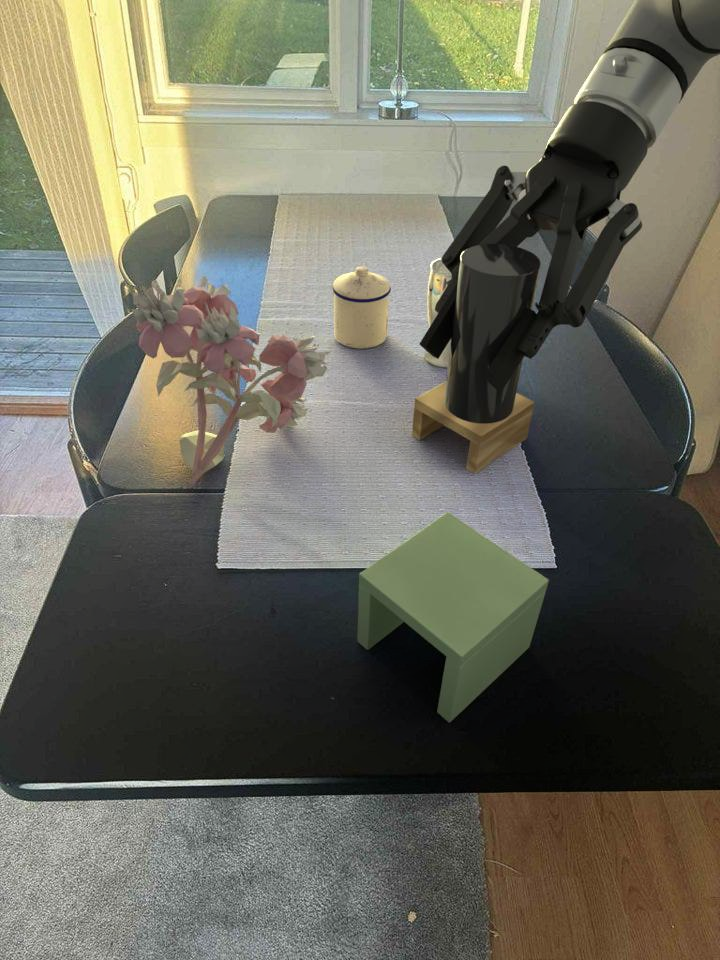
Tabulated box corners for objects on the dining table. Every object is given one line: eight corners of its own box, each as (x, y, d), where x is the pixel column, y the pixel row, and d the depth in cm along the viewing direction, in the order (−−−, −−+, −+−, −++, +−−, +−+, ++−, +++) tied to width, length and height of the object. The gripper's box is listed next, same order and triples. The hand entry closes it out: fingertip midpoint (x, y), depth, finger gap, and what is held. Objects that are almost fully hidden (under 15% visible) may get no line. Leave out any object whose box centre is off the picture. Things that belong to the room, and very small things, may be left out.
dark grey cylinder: (527, 405, 65) (557, 260, 56) (483, 433, 62) (507, 283, 53) (473, 377, 69) (494, 237, 60) (429, 402, 65) (444, 257, 56)
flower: (325, 510, 81) (342, 287, 74) (124, 500, 78) (124, 267, 72) (318, 468, 100) (331, 288, 94) (156, 459, 97) (159, 272, 91)
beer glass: (417, 348, 112) (424, 257, 102) (458, 344, 113) (469, 255, 103) (428, 371, 107) (436, 278, 97) (471, 367, 108) (484, 275, 98)
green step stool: (529, 647, 69) (549, 579, 62) (449, 723, 62) (462, 657, 56) (438, 578, 75) (447, 511, 69) (357, 641, 69) (358, 573, 62)
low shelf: (526, 438, 94) (535, 402, 90) (474, 474, 89) (481, 436, 85) (464, 404, 100) (469, 368, 96) (411, 435, 94) (414, 398, 91)
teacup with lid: (399, 339, 114) (403, 271, 106) (354, 356, 110) (355, 286, 102) (356, 311, 121) (357, 245, 114) (312, 325, 117) (310, 258, 109)
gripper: (501, 76, 60) (359, 309, 62) (719, 121, 49) (540, 400, 51) (527, 132, 66) (398, 342, 68) (726, 183, 56) (566, 430, 58)
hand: (459, 367), depth 60 cm, fingers closed on dark grey cylinder, 6 cm apart
